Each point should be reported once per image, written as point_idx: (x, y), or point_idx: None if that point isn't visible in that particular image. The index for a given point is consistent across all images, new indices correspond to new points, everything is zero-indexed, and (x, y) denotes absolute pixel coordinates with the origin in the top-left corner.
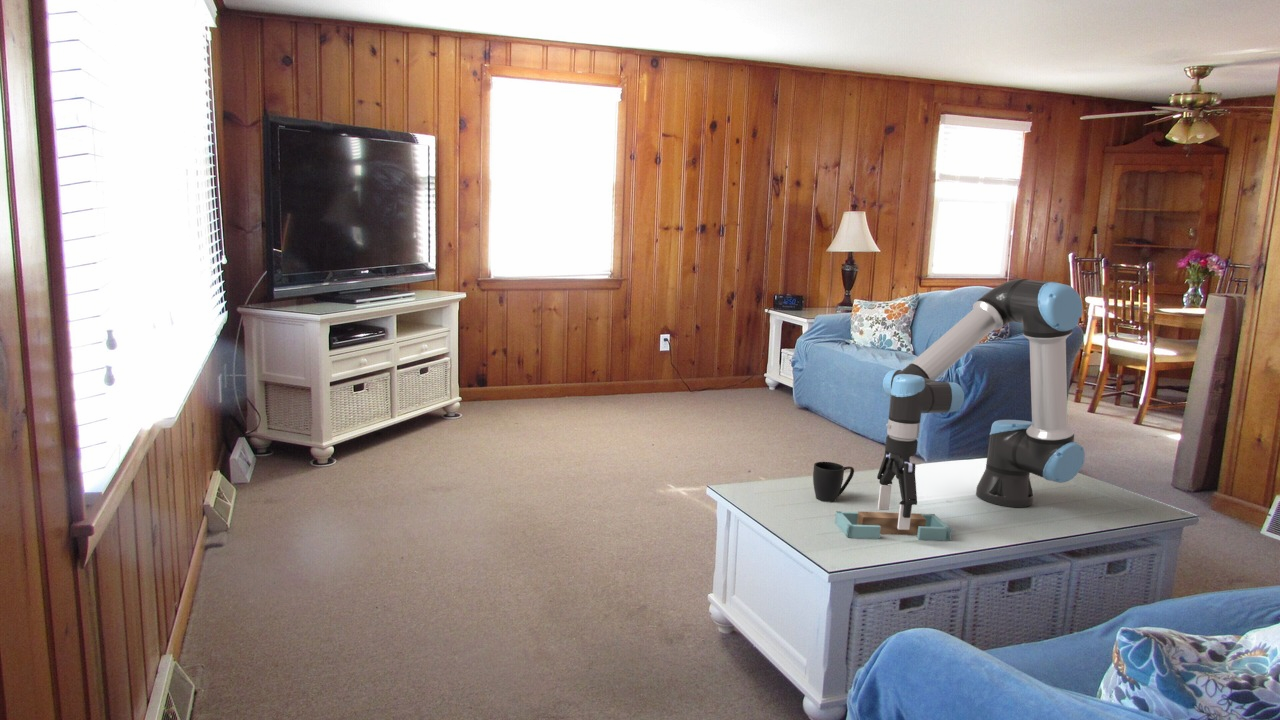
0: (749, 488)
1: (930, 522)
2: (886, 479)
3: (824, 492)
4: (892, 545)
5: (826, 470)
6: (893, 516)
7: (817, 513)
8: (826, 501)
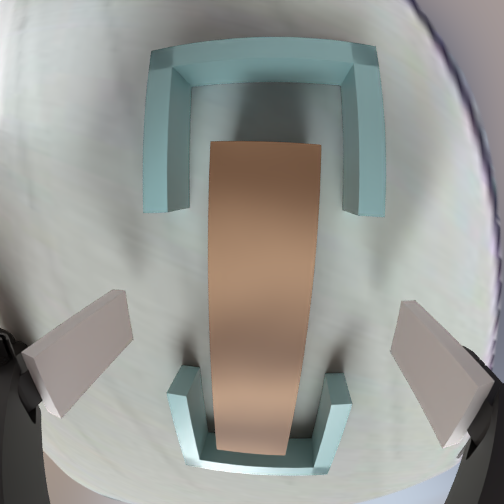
0: (55, 454)
1: (184, 81)
2: (30, 436)
3: None
4: None
5: None
6: (275, 344)
7: (134, 439)
8: None
